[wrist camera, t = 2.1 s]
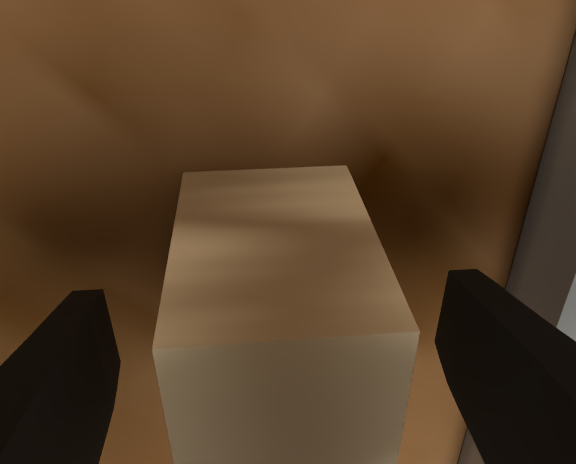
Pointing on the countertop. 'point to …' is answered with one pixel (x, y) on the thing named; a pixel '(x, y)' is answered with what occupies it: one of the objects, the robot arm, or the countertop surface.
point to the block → (281, 323)
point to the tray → (548, 231)
